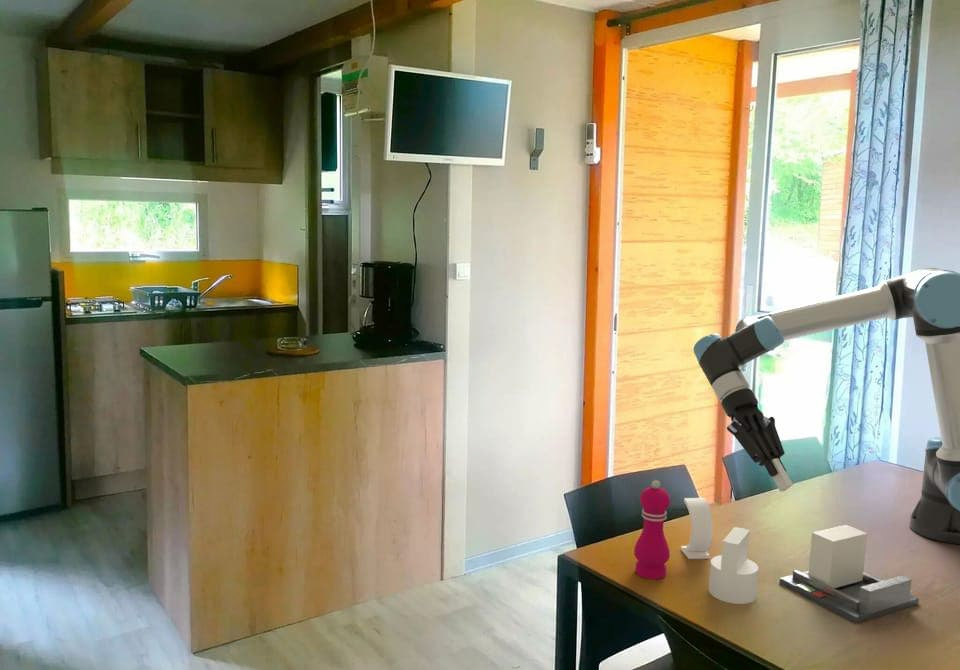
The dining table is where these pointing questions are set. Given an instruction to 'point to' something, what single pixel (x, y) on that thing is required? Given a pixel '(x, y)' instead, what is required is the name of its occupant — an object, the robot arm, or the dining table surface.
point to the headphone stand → (699, 529)
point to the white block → (837, 555)
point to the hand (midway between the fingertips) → (786, 488)
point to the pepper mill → (653, 534)
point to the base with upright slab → (734, 570)
